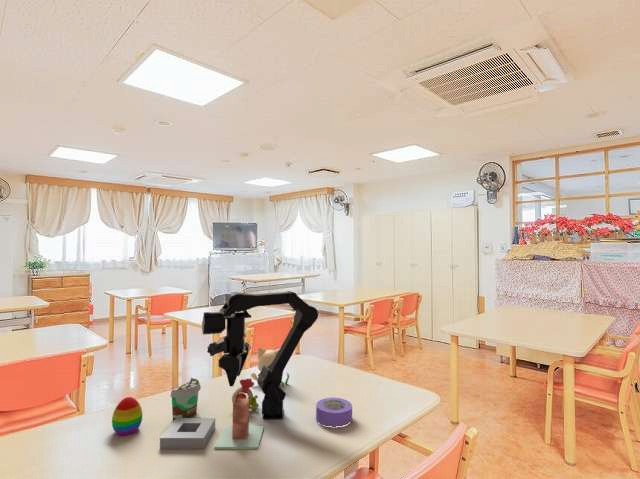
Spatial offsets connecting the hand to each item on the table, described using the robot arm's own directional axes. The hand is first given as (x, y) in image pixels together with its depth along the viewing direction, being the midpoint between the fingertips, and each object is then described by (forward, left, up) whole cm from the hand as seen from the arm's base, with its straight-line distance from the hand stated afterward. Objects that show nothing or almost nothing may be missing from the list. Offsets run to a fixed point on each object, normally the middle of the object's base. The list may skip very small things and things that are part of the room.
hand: (234, 380), depth 118 cm
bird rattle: (-2, -9, -13) cm, 16 cm away
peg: (-4, +10, -12) cm, 16 cm away
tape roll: (-32, -2, -13) cm, 35 cm away
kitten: (-8, -34, -13) cm, 37 cm away
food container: (+16, -5, -13) cm, 21 cm away
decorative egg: (+31, +6, -13) cm, 34 cm away
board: (-4, +10, -13) cm, 17 cm away
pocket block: (+11, +10, -13) cm, 20 cm away
